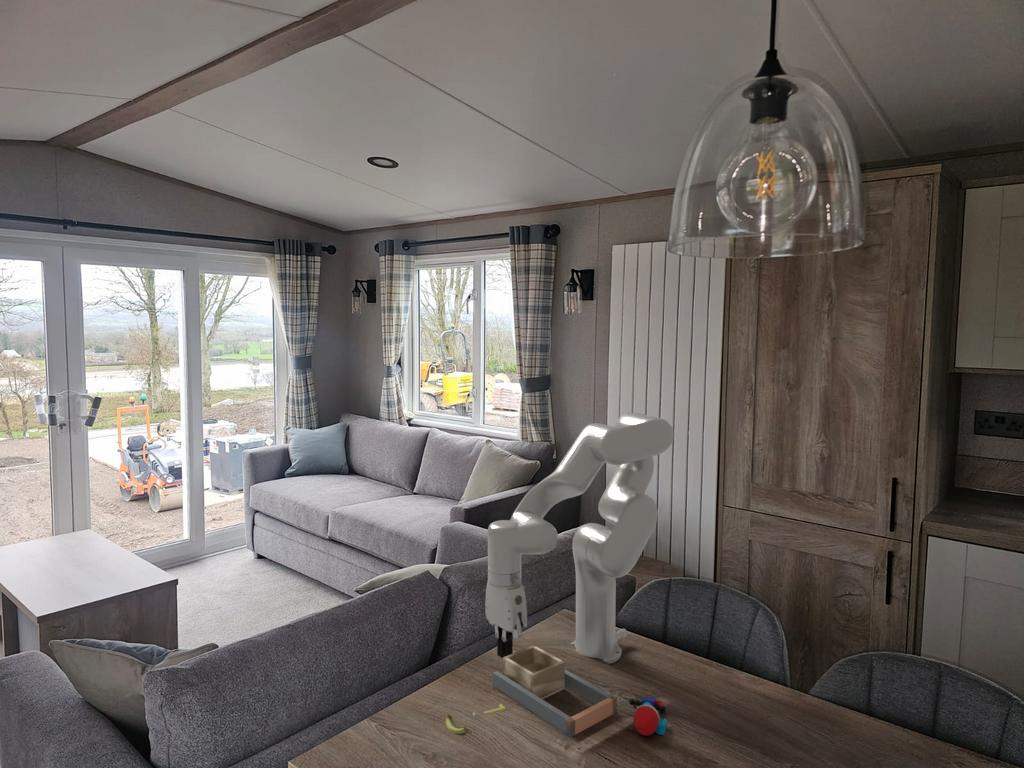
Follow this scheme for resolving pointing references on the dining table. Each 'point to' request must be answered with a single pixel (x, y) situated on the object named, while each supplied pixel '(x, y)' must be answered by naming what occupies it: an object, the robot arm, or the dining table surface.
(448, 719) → the key
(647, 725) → the toy figure
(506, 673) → the crate
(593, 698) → the rail bay
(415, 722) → the dining table surface
